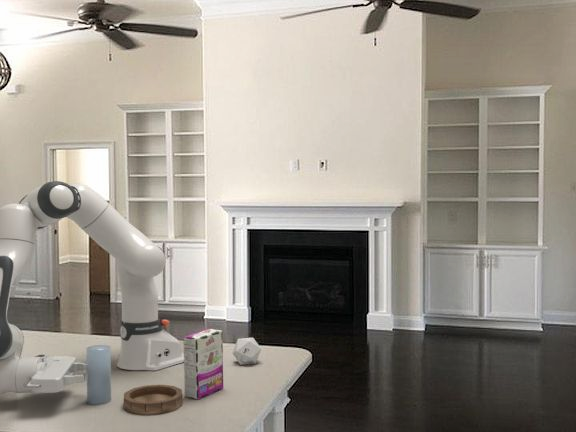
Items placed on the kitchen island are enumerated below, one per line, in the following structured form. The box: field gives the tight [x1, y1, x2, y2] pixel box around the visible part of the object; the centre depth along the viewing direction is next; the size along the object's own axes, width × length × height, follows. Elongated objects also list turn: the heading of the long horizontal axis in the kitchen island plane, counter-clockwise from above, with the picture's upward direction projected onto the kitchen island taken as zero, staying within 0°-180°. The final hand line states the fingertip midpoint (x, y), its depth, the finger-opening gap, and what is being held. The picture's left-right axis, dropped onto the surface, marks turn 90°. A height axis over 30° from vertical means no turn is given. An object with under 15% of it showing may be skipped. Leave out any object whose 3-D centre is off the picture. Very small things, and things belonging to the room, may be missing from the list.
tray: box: [123, 384, 184, 416], centre depth 162 cm, size 15×15×3 cm
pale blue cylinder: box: [86, 344, 112, 406], centre depth 165 cm, size 6×6×14 cm
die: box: [232, 337, 262, 366], centre depth 201 cm, size 8×9×10 cm
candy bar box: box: [183, 328, 224, 400], centre depth 171 cm, size 11×5×16 cm, turn 148°
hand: (87, 372), depth 164 cm, fingers open, 8 cm apart
